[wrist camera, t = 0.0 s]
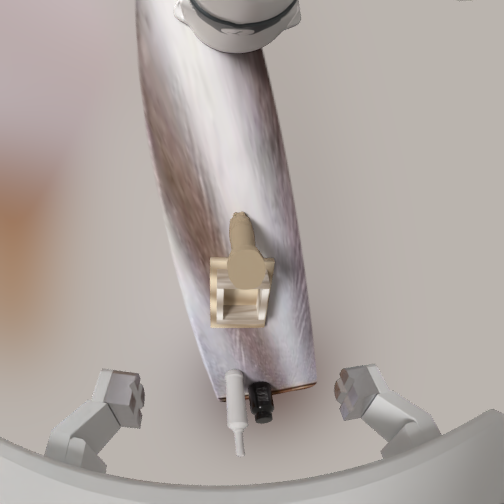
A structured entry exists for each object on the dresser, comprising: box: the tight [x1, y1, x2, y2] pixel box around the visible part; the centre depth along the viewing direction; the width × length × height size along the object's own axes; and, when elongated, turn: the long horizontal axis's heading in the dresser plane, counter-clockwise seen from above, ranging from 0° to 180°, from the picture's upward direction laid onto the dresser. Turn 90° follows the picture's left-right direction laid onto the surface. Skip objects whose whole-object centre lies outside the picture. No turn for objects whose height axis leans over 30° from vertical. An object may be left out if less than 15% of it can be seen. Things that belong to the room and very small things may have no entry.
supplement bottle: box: [248, 382, 274, 423], centre depth 75 cm, size 7×7×12 cm
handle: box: [227, 212, 265, 290], centre depth 43 cm, size 5×6×15 cm
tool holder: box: [210, 257, 275, 328], centre depth 56 cm, size 18×12×6 cm, turn 175°
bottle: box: [225, 369, 248, 457], centre depth 64 cm, size 5×5×25 cm
